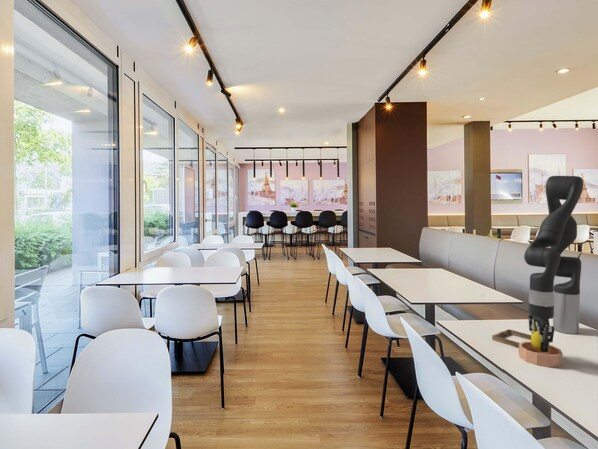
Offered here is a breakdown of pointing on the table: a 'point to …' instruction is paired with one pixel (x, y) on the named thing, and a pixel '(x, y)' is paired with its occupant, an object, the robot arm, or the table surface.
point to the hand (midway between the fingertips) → (540, 348)
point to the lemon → (536, 340)
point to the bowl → (540, 355)
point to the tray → (498, 338)
